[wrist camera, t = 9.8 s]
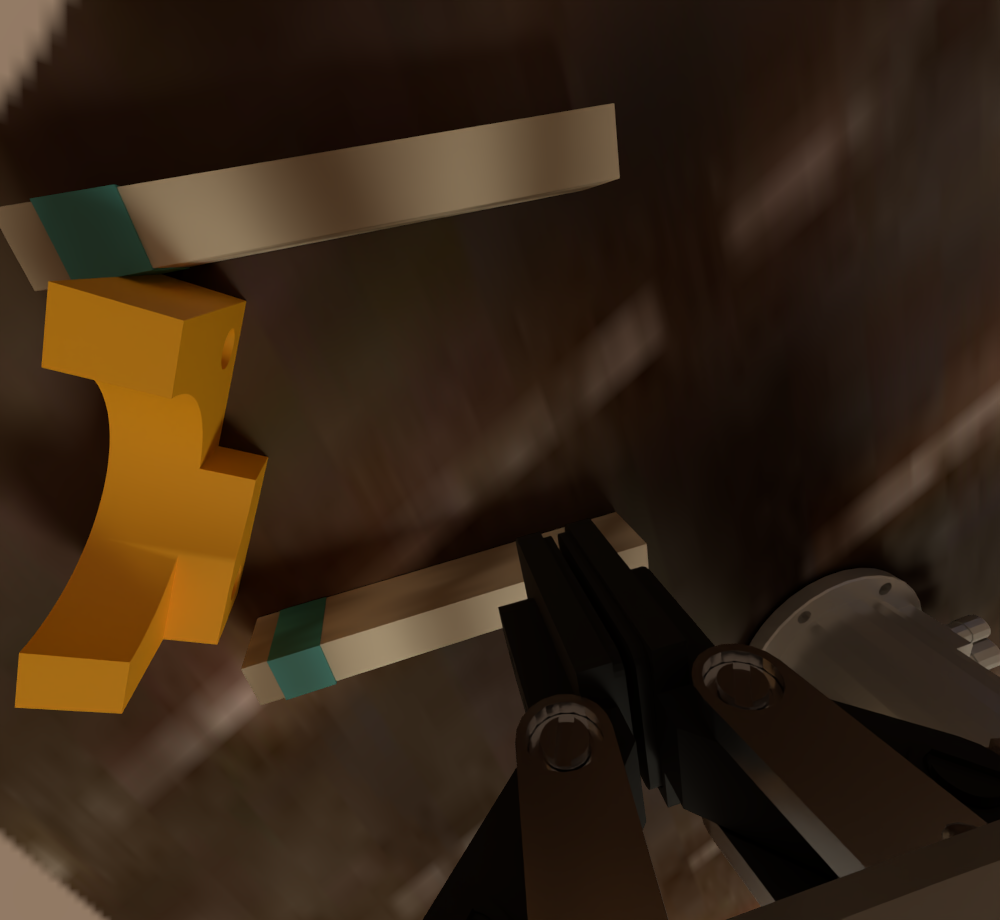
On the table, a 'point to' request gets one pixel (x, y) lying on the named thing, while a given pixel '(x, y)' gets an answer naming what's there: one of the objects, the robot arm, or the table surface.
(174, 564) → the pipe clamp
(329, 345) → the table surface
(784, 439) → the table surface
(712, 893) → the table surface
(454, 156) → the channel
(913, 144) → the table surface
